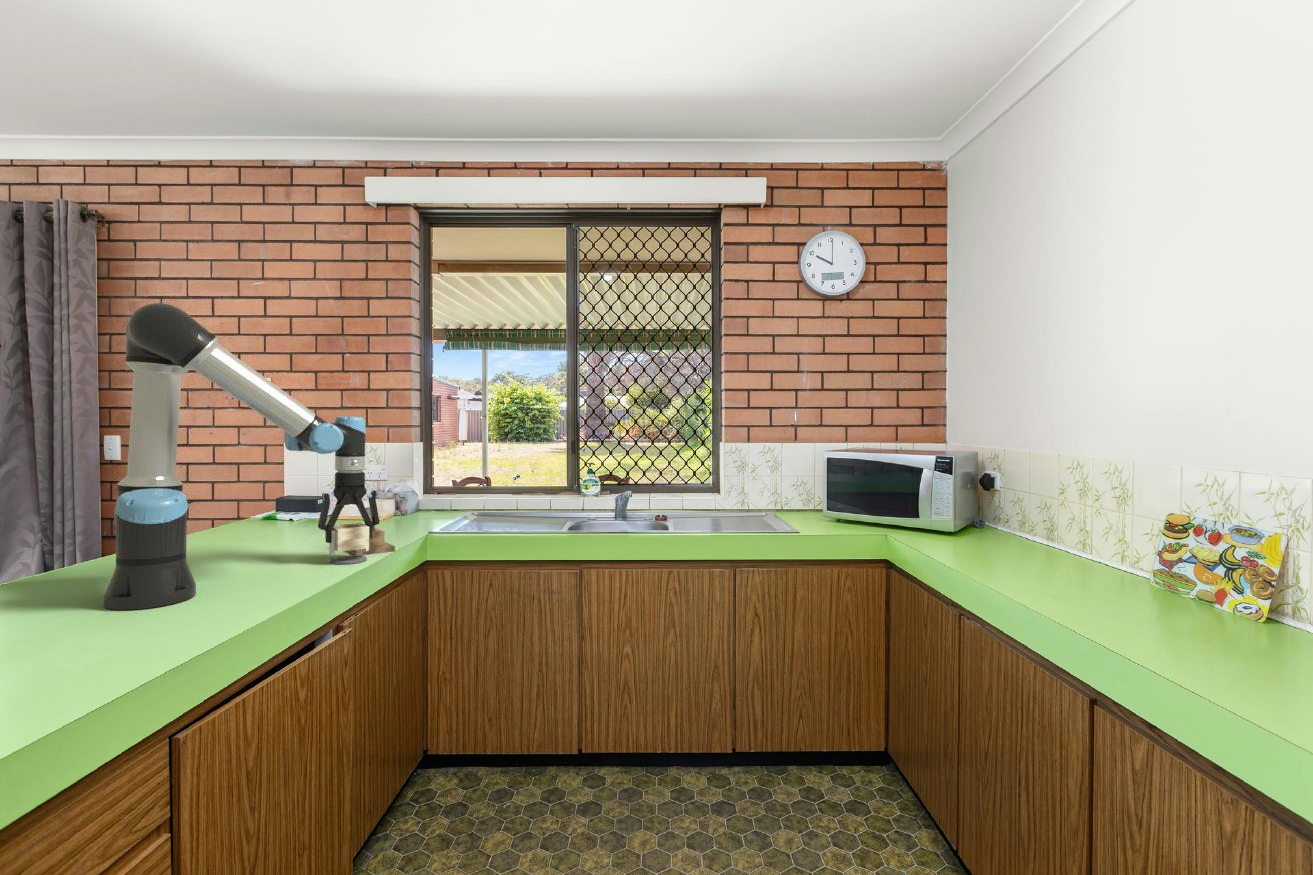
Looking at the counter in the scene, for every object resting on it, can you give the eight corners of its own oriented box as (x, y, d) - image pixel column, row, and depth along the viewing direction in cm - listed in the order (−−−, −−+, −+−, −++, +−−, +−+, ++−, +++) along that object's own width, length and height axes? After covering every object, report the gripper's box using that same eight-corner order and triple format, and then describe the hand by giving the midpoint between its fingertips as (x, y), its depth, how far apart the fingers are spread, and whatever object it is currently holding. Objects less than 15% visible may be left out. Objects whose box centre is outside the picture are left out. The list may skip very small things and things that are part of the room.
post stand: (355, 555, 174) (356, 511, 174) (344, 549, 182) (345, 507, 182) (394, 551, 181) (395, 508, 181) (382, 545, 189) (382, 504, 189)
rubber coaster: (335, 566, 161) (335, 563, 161) (326, 560, 168) (326, 557, 168) (371, 561, 167) (371, 559, 167) (360, 555, 174) (360, 553, 174)
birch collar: (337, 551, 162) (338, 529, 162) (329, 546, 168) (329, 525, 168) (369, 548, 167) (369, 526, 167) (359, 543, 173) (360, 522, 173)
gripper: (311, 473, 157) (310, 559, 158) (393, 471, 171) (392, 549, 172) (304, 471, 163) (303, 554, 163) (384, 469, 177) (383, 545, 177)
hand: (349, 551), depth 168 cm, fingers closed on birch collar, 8 cm apart
